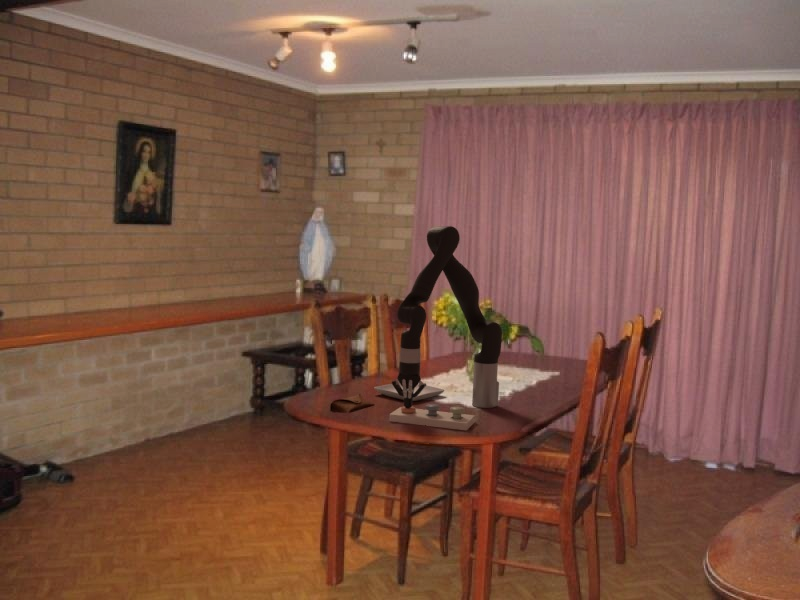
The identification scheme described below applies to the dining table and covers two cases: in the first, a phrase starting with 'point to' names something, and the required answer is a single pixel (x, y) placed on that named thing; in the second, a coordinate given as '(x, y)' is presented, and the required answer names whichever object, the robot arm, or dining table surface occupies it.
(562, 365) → the dining table surface
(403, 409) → the terracotta button
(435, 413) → the slate button
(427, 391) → the salad plate
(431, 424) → the button panel
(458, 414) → the sage button
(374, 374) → the dining table surface
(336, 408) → the sunglasses case
